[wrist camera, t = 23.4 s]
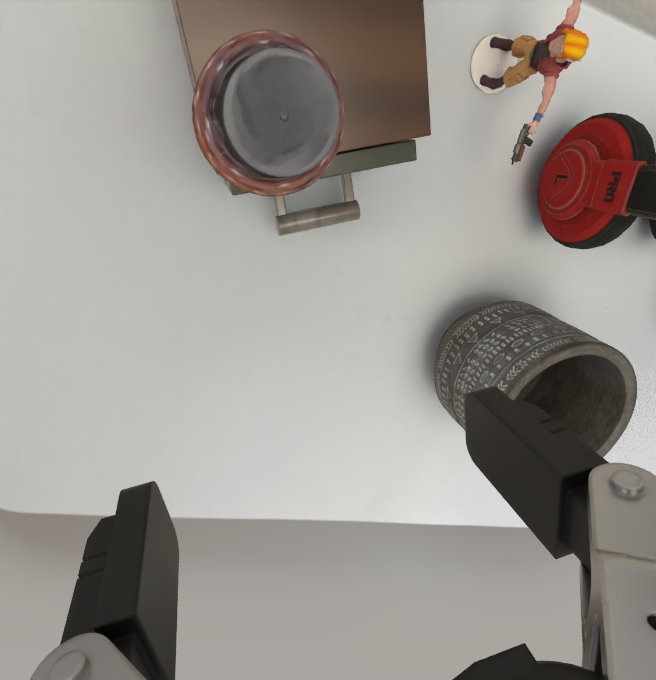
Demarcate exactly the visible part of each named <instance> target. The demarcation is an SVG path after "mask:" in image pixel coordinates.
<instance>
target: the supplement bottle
mask: <svg viewBox="0 0 656 680" xmlns="http://www.w3.org/2000/svg"><path fill="white" fill-rule="evenodd" d="M192 112H193V115H192V119H193V125H194V131H195V135H196V138H197V141H198V143H199V146H200V148H201V150H202V152H203V154H204V156H205V158H206V159H207V160H208V162H209V163H210V165H211V166H212V167H213V168H214V169H215V170H216V172H217V173H218V174H219V175H221V176H222V177H223V178H224V179H225V180H226V181H228V182H229V183H231V184H232V185H234V186H236V187H238V188H240V189H242V190H245V191H247V192H250V193H253V194H257V195H261V196H271V197H275V196H284V195H289V194H293V193H296V192H298V191H301V190H303V189H305V188H306V187H308V186H310V185H311V184H313V183H314V182H316V181H317V180H318V179H319V178H320V177H321V176H322V175H323V174H324V173H325V171H326V170H327V169H328V168H329V166H330V165H331V163H332V162H333V160H334V158H335V156H336V154H337V152H338V149H339V147H340V144H341V141H342V137H343V133H344V124H345V118H344V117H345V113H344V101H343V96H342V93H341V89H340V86H339V83H338V81H337V79H336V77H335V74H334V72H333V71H332V69H331V68H330V66H329V65H328V64H327V62H326V61H325V60H324V58H323V57H322V56H321V55H320V54H319V53H318V52H317V51H316V50H315V49H314V48H313V47H312V46H310V45H309V44H308V43H306V42H305V41H303V40H302V39H300V38H298V37H296V36H294V35H291V34H288V33H285V32H279V31H274V30H256V31H252V32H247V33H244V34H241V35H238V36H236V37H234V38H232V39H231V40H229V41H227V42H225V43H224V44H223V45H222V46H220V47H219V48H218V49H217V50H216V51H215V52H214V53H213V54H212V56H211V57H210V58H209V60H208V61H207V63H206V64H205V66H204V68H203V70H202V71H201V73H200V75H199V78H198V80H197V83H196V87H195V91H194V97H193V104H192Z"/></svg>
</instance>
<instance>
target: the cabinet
mask: <svg viewBox="0 0 656 680" xmlns="http://www.w3.org/2000/svg"><path fill="white" fill-rule="evenodd" d="M172 3H173V7H174V11H175V16H176V20H177V24H178V28H179V32H180V36H181V40H182V44H183V49H184V53H185V57H186V61H187V65H188V69H189V73H190V77H191V82H192V86H193V90H194V91H195V87H196V83H197V80H198V78H199V75H200V73H201V71H202V70H203V68H204V66H205V64H206V63H207V61H208V60H209V58H210V57H211V56H212V54H213V53H214V52H215V51H216V50H217V49H218V48H219V47H220V46H222V45H223V44H224V43H225V42H227V41H229V40H231V39H232V38H234V37H236V36H238V35H241V34H244V33H247V32H252V31H256V30H274V31H279V32H285V33H288V34H291V35H294V36H296V37H298V38H300V39H302V40H303V41H305V42H306V43H308V44H309V45H310V46H312V47H313V48H314V49H315V50H316V51H317V52H318V53H319V54H320V55H321V56H322V57H323V58H324V60H325V61H326V62H327V64H328V65H329V66H330V68H331V69H332V71H333V72H334V74H335V77H336V79H337V81H338V83H339V86H340V89H341V93H342V96H343V101H344V113H345V117H344V118H345V124H344V133H343V137H342V141H341V144H340V147H339V149H338V152H343V151H348V150H354V149H359V148H364V147H370V146H375V145H380V144H386V143H391V142H397V141H402V140H407V139H413V138H418V137H423V136H429V135H431V129H430V112H429V94H428V77H427V60H426V42H425V25H424V8H423V0H172ZM215 171H216V170H215ZM216 173H217V172H216ZM217 174H218V173H217ZM218 175H219V174H218Z"/></svg>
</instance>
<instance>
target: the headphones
mask: <svg viewBox="0 0 656 680" xmlns="http://www.w3.org/2000/svg"><path fill="white" fill-rule="evenodd" d="M538 205H539V211H540V215H541V219H542V222H543V224H544V226H545V229H546V231H547V232H548V233H549V234H550V235H551V236H552V238H553V239H554V240H555V241H557V242H558V243H560V244H562V245H564V246H566V247H570V248H577V249H590V248H594V247H599V246H603V245H605V244H607V243H609V242H611V241H612V240H614V239H616V238H618V237H619V236H620V235H621V234H622V233H623V232H624V231H625V230H626V229H627V228H629V227H630V226H631V225H632V223H633V222H634V221H635V219H636V218H637V216H639V217H643V218H647V219H649V224H650V228H651V232H652V234H653V236H654V238H655V239H656V152H655V148H654V144H653V140H652V137H651V135H650V134H649V132H648V131H647V129H646V128H645V126H644V125H643V124H641V123H640V122H638V121H636V120H635V119H633V118H632V117H630V116H628V115H623V114H617V113H604V114H599V115H595V116H592V117H590V118H588V119H586V120H584V121H583V122H581V123H579V124H577V125H576V126H575V127H574V128H573V129H572V130H570V131H569V132H568V133H567V134H566V135H565V136H564V138H563V139H561V141H560V142H559V143H558V145H557V146H556V147H555V148H554V150H553V151H552V153H551V155H550V157H549V159H548V160H547V162H546V164H545V167H544V170H543V173H542V176H541V180H540V185H539V190H538Z"/></svg>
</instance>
